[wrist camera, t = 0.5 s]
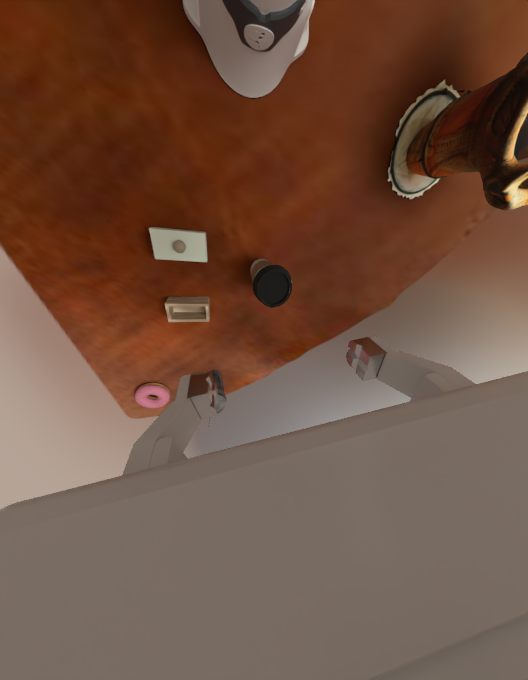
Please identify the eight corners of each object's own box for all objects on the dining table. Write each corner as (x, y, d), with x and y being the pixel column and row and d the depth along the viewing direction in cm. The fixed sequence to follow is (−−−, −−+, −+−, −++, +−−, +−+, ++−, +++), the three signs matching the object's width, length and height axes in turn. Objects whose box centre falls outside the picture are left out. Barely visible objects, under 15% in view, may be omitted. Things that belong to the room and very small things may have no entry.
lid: (153, 226, 40) (147, 228, 36) (205, 231, 43) (204, 233, 39) (159, 255, 43) (153, 260, 40) (207, 258, 46) (206, 263, 42)
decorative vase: (366, 216, 47) (513, 207, 23) (401, 67, 35) (778, -259, 11) (435, 215, 50) (624, 206, 27) (488, 79, 38) (920, -154, 15)
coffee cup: (243, 284, 51) (251, 307, 39) (247, 250, 46) (258, 264, 34) (273, 287, 53) (289, 310, 41) (279, 255, 48) (300, 270, 36)
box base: (169, 296, 49) (164, 303, 45) (208, 296, 51) (208, 303, 47) (172, 313, 51) (168, 322, 47) (210, 313, 53) (209, 321, 49)
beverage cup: (223, 382, 70) (224, 433, 54) (203, 381, 68) (198, 434, 52) (227, 368, 66) (229, 418, 50) (205, 366, 64) (201, 418, 48)
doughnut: (149, 404, 69) (145, 414, 66) (129, 386, 63) (124, 396, 59) (177, 395, 69) (175, 405, 66) (161, 376, 63) (157, 385, 60)
